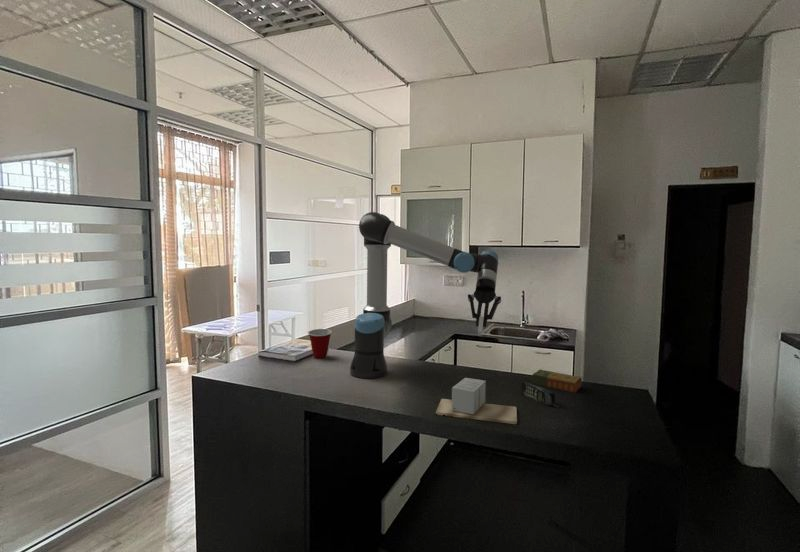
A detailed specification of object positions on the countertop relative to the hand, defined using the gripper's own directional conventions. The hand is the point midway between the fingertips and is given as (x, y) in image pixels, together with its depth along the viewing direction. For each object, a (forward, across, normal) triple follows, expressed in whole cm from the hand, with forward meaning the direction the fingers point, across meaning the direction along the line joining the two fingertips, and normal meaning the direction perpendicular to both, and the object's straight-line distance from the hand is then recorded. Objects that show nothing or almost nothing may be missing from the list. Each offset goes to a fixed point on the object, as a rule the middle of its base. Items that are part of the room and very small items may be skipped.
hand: (479, 333), depth 152 cm
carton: (+5, -28, -24) cm, 37 cm away
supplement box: (+22, -1, 0) cm, 22 cm away
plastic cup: (+2, +73, -29) cm, 79 cm away
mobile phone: (+19, -21, -10) cm, 30 cm away
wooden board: (+30, -2, +2) cm, 31 cm away
